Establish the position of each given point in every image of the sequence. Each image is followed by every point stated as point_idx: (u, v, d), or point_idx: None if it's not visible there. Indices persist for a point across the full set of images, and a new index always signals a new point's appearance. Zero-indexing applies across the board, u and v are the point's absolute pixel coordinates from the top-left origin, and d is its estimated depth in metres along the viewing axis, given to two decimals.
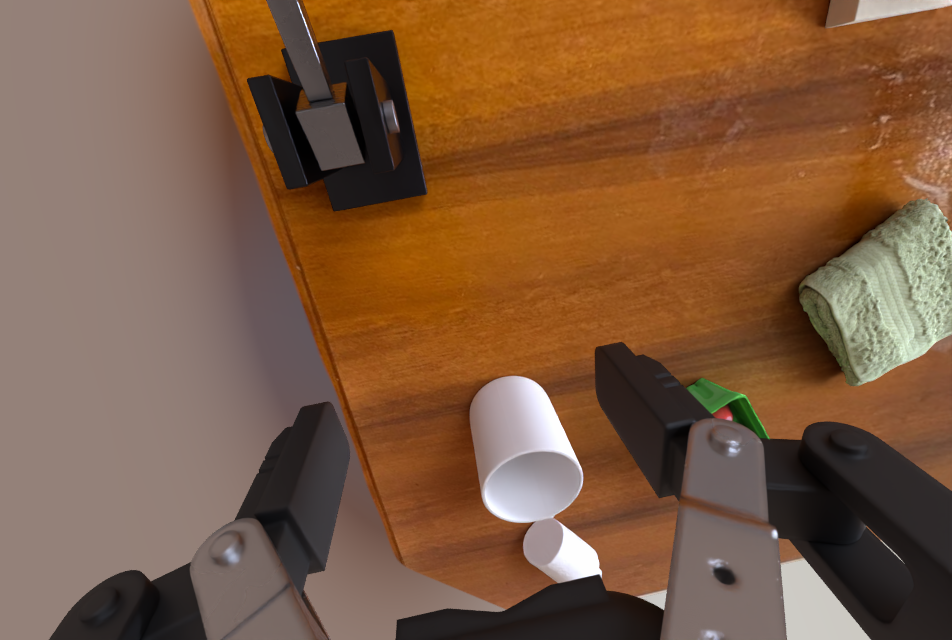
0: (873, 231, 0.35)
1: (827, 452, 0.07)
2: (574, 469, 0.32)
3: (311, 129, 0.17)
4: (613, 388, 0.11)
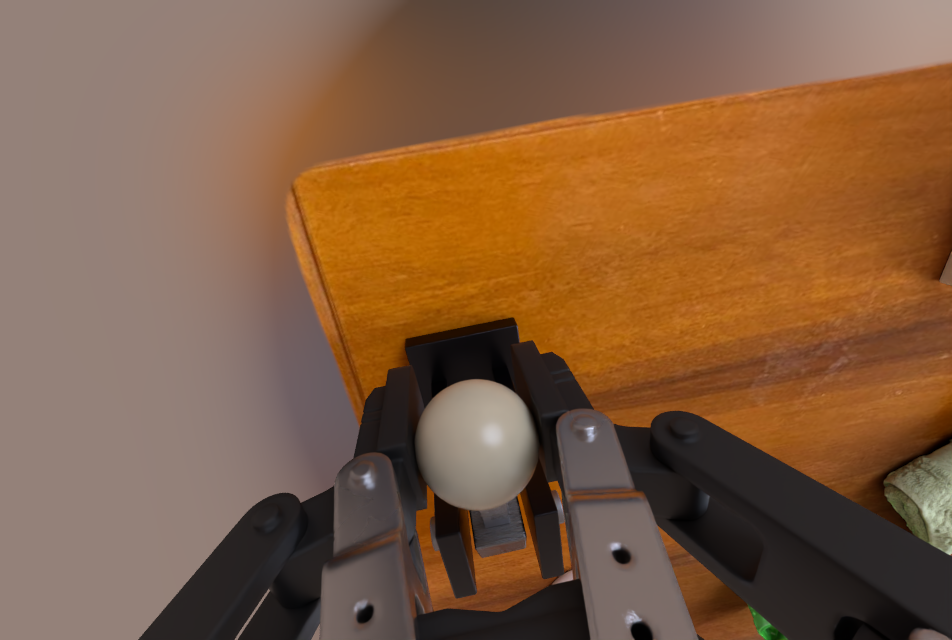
0: None
1: (664, 437, 0.08)
2: None
3: (486, 550, 0.17)
4: (520, 383, 0.11)
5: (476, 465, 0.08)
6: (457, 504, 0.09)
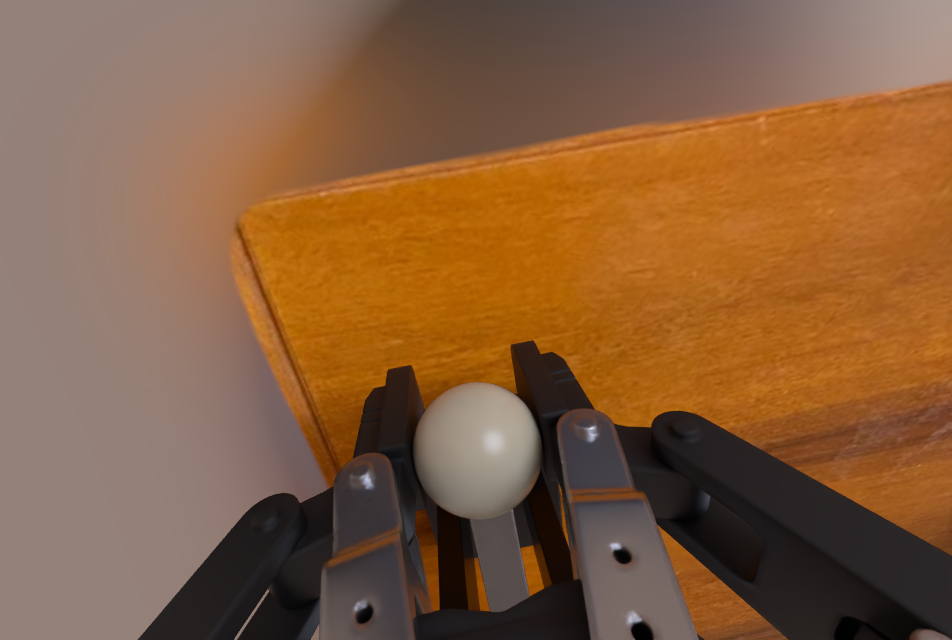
0: None
1: (665, 437, 0.08)
2: None
3: None
4: (521, 383, 0.11)
5: (467, 422, 0.08)
6: (449, 483, 0.08)
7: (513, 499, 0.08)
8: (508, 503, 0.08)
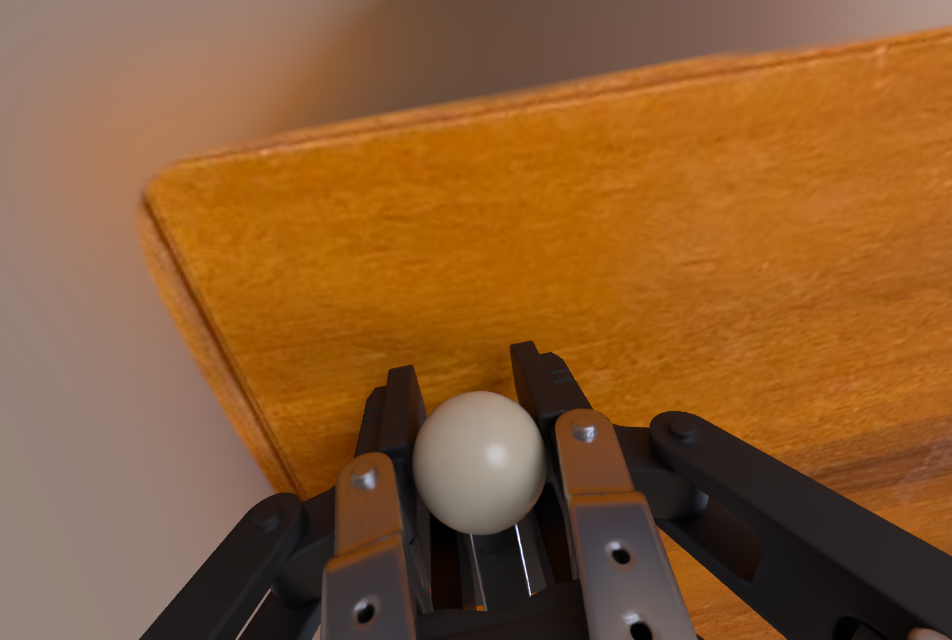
0: None
1: (663, 437, 0.08)
2: None
3: None
4: (520, 383, 0.11)
5: (466, 413, 0.08)
6: (445, 476, 0.08)
7: (514, 499, 0.08)
8: (509, 504, 0.08)
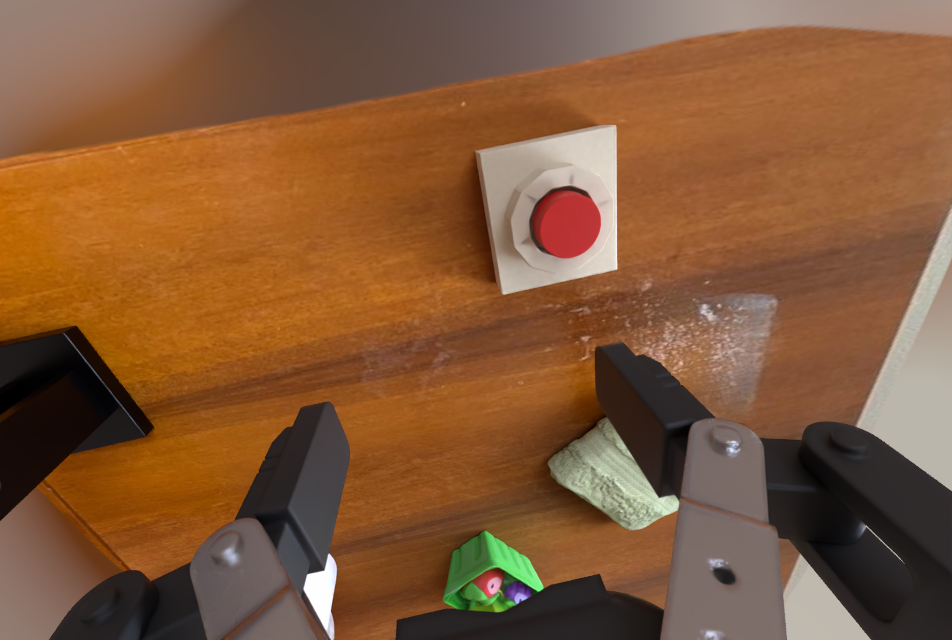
0: (601, 421, 0.38)
1: (827, 452, 0.07)
2: None
3: None
4: (613, 388, 0.11)
5: None
6: None
7: None
8: None
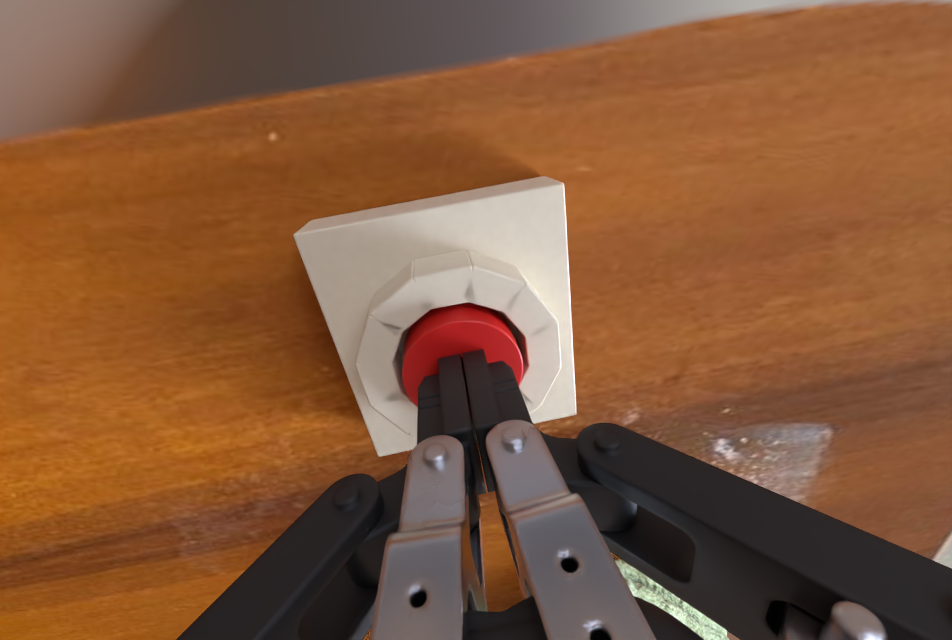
0: None
1: (587, 450, 0.08)
2: None
3: None
4: None
5: None
6: None
7: None
8: None
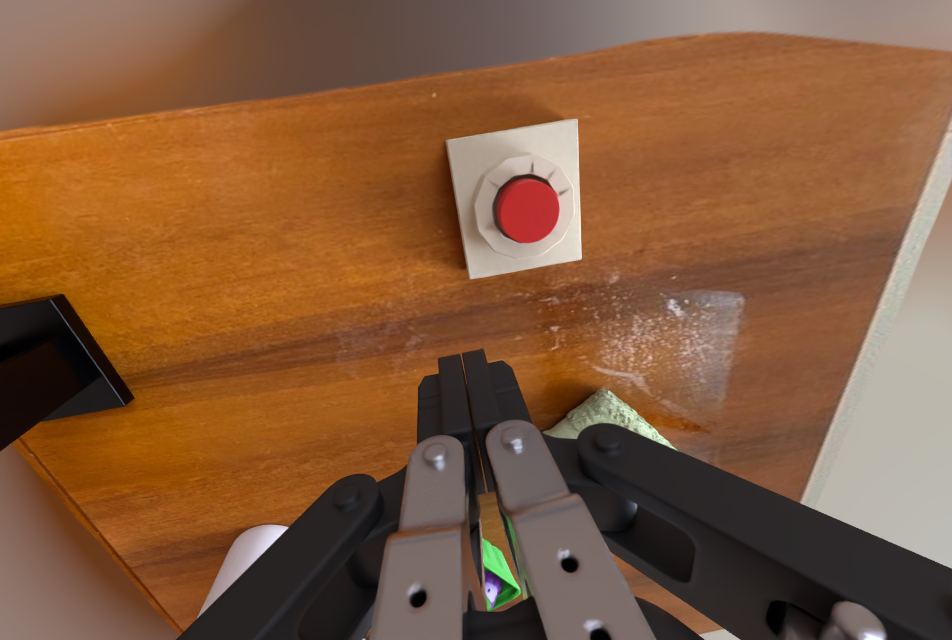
0: (571, 412, 0.39)
1: (587, 450, 0.08)
2: None
3: None
4: None
5: None
6: None
7: None
8: None
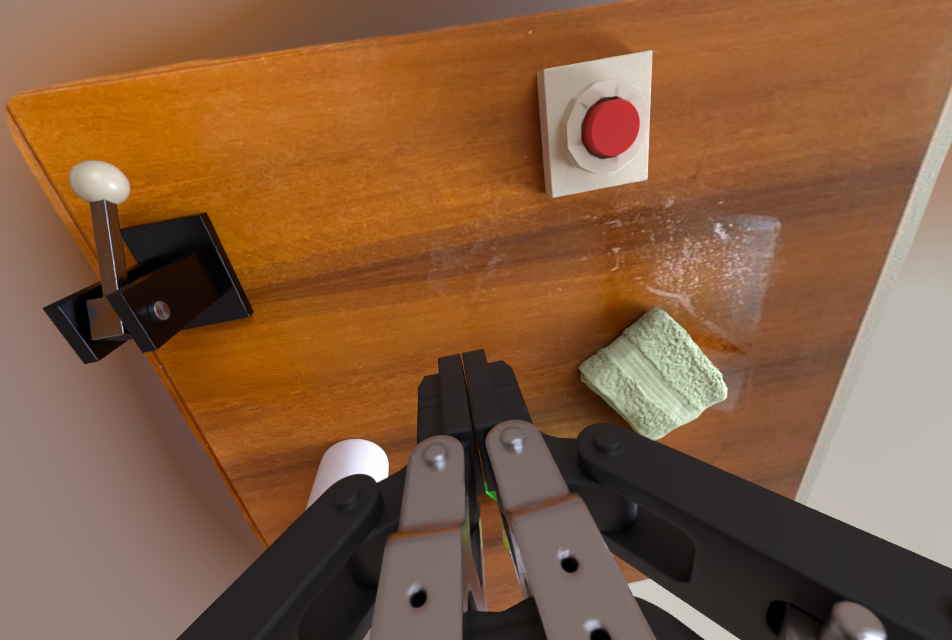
0: (627, 329, 0.44)
1: (587, 450, 0.08)
2: None
3: (92, 310, 0.26)
4: None
5: (83, 161, 0.27)
6: (70, 174, 0.27)
7: (91, 182, 0.27)
8: (89, 183, 0.27)
